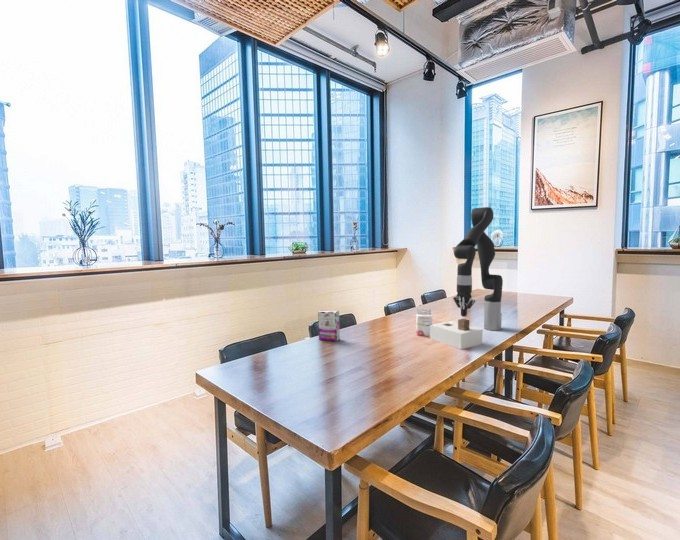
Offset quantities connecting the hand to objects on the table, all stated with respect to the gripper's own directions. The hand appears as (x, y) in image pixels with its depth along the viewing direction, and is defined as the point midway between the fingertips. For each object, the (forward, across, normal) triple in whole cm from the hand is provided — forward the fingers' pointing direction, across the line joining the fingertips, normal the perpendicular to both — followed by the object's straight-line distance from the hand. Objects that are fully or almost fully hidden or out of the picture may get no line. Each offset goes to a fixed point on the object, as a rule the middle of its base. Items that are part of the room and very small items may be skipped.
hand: (463, 316), depth 186 cm
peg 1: (+14, +11, 0) cm, 18 cm away
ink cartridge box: (+15, +24, +5) cm, 29 cm away
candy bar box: (+16, +46, +56) cm, 74 cm away
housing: (+15, +6, 0) cm, 16 cm away
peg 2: (+9, 0, 0) cm, 9 cm away
